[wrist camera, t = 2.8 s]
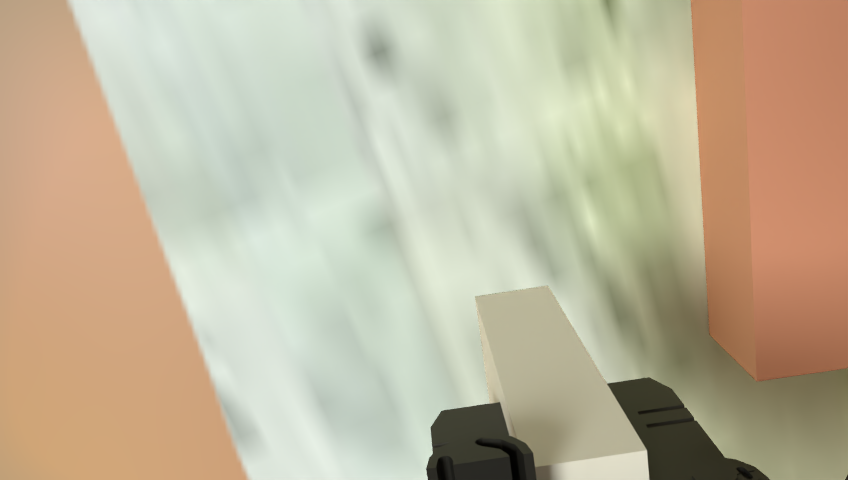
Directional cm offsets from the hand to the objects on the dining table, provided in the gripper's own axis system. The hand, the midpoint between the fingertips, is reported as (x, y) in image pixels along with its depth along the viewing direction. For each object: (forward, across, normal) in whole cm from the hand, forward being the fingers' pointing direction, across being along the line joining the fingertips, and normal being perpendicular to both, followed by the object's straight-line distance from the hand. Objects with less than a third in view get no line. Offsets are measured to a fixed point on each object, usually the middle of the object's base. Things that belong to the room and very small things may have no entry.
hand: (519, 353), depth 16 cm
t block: (+12, +14, 0) cm, 18 cm away
